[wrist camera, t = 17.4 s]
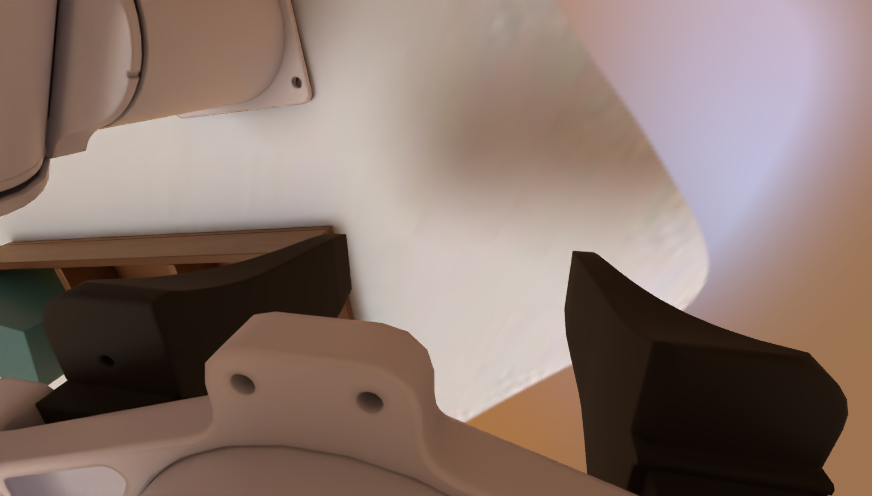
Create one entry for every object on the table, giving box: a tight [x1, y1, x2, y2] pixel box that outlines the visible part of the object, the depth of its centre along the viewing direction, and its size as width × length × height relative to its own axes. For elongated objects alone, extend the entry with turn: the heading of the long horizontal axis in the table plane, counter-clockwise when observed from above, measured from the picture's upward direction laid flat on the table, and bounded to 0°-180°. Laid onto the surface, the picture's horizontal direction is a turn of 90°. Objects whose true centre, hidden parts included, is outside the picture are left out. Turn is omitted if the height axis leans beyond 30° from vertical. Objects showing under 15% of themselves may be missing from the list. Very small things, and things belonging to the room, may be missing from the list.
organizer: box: [0, 226, 354, 320], centre depth 27 cm, size 8×24×4 cm, turn 97°
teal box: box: [0, 268, 66, 385], centre depth 27 cm, size 4×6×6 cm
